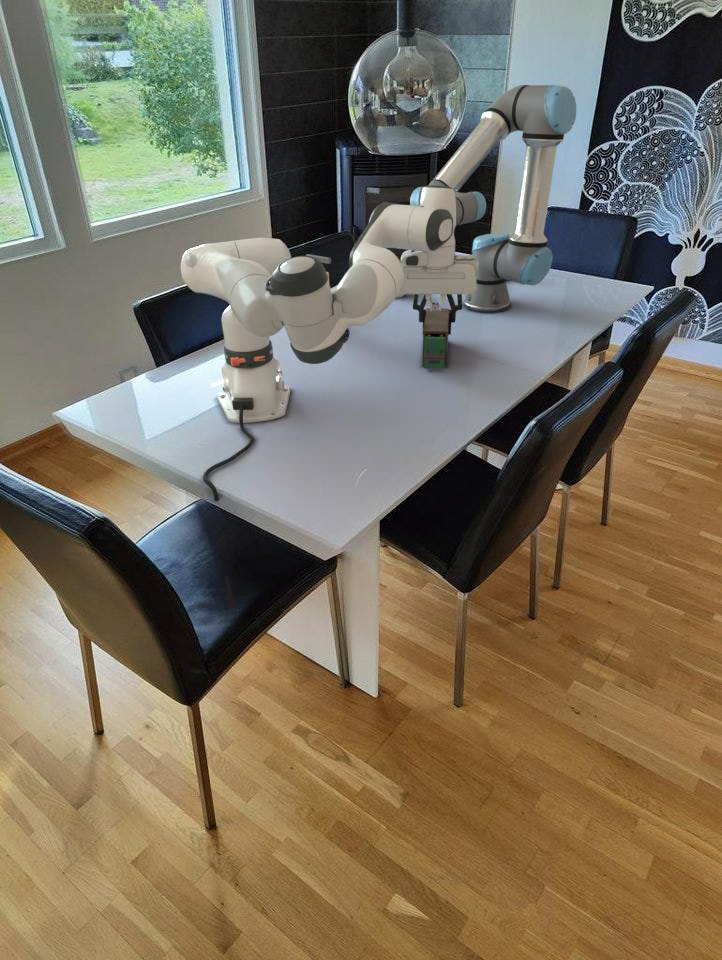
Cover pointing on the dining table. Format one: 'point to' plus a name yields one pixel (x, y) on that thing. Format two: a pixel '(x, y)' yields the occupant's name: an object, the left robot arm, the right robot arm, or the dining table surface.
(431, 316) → the cabinet
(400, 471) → the dining table surface
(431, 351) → the drawer
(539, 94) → the right robot arm
